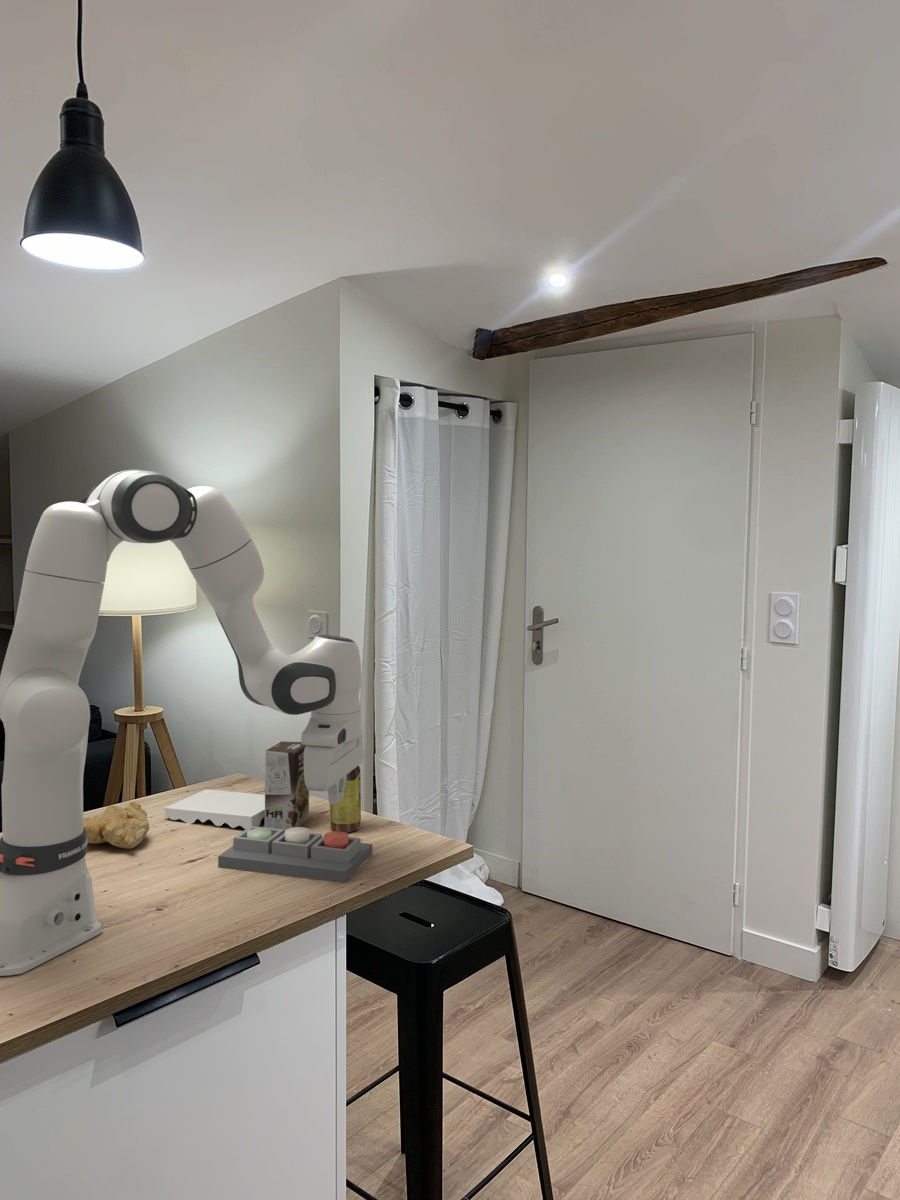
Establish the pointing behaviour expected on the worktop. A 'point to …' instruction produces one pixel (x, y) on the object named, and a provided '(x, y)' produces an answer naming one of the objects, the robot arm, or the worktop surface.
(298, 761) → the coffee box
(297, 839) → the cream button
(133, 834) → the ginger root
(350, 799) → the sauce bottle
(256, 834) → the green button
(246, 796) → the white scalloped slab
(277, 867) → the button panel
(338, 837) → the red button
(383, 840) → the worktop surface
